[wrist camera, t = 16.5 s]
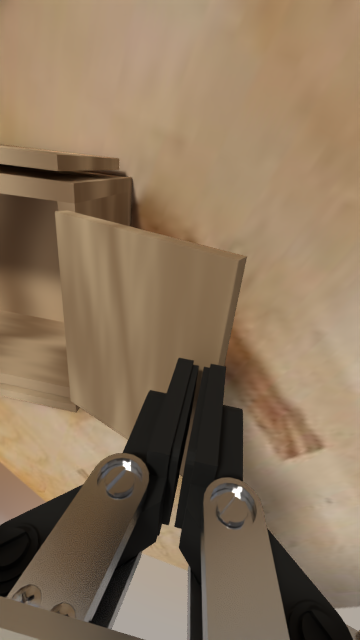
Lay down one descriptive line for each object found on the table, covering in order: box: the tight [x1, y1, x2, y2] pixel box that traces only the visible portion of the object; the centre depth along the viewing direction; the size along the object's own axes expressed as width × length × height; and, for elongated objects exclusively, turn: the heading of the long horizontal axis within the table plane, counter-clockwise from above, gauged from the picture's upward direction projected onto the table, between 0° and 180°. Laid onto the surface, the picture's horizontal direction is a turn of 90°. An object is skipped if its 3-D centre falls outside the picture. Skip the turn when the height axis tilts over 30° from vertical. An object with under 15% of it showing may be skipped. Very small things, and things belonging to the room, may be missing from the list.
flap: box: [55, 210, 247, 476], centre depth 13 cm, size 1×10×8 cm
